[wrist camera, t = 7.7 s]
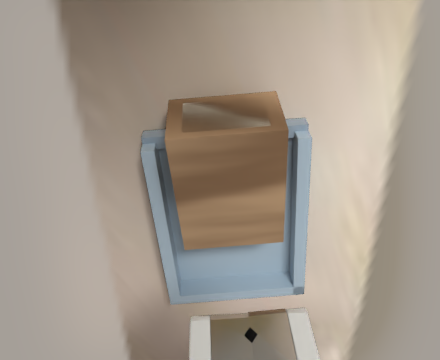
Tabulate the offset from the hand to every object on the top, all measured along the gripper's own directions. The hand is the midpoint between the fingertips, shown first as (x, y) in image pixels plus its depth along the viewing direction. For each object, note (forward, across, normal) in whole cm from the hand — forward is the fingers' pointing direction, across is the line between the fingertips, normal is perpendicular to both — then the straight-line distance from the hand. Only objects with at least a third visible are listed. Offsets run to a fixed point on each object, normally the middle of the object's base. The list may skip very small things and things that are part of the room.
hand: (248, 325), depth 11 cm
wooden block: (+13, 0, 0) cm, 13 cm away
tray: (+16, 0, +9) cm, 18 cm away
